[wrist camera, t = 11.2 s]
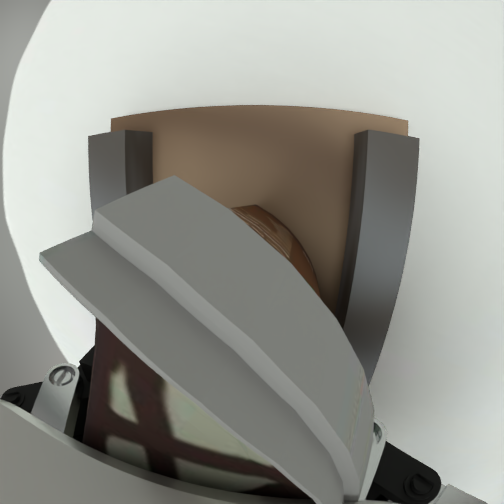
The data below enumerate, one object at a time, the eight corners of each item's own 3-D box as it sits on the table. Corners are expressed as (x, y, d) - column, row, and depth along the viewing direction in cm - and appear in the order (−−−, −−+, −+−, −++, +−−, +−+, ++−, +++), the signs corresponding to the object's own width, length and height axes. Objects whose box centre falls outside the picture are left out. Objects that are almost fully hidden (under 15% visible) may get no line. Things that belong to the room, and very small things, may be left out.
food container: (266, 421, 15) (217, 568, 5) (174, 373, 15) (78, 502, 6) (403, 247, 11) (549, 444, 1) (272, 171, 11) (45, 190, 2)
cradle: (345, 406, 17) (348, 446, 14) (155, 383, 19) (135, 416, 16) (399, 123, 11) (431, 114, 8) (123, 120, 13) (81, 116, 10)
